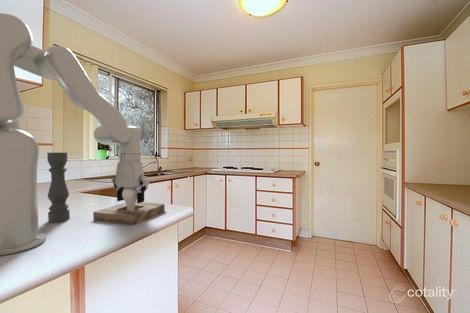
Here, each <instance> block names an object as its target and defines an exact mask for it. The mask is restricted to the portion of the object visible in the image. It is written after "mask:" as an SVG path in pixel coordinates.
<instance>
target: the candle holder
mask: <svg viewBox="0 0 470 313" xmlns="http://www.w3.org/2000/svg"><path fill="white" fill-rule="evenodd" d="M46 156H47V157H46V159H47V162H48V165H49V166H50V168H49V169H48V172H49V173H50V177H51V179H50V180H51V181H50V186H49V189H48V193H47V199H48V200H49V201H50V203H51V205H50V206H49V208H48V210H49V211H48V212H47V215H48V216H47V219H48V220H47V222H48V223H50V224H54V223H55V224H56V223H62V222H66V221H69V220H70V218H71V217H70V209H69V205H68V204H67V203H66V202H67V199H68V198H69V196H70V192H69V190H68V185H67V183H66V180H65V174H66V171H67V169H68V168H67V167H65V166H66V164H67V162H68V152H47V155H46Z"/></svg>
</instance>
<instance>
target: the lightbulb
mask: <svg viewBox="0 0 470 313" xmlns="http://www.w3.org/2000/svg"><path fill="white" fill-rule="evenodd" d="M137 193H138V191H137V189H136V188H126V187H124V189H123V192H122V197H123V199H124V200H123V201H124V203H126V207H127V211H134V209H135V203H136V202H137Z"/></svg>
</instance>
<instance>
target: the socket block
mask: <svg viewBox="0 0 470 313" xmlns="http://www.w3.org/2000/svg"><path fill="white" fill-rule="evenodd" d="M163 212H165V204H164V203H154V202H145V201H144V202H141V203H137V201H136V203H135V209H134V211H127V207H126V202H123V203H119V204H116V205H113V206H109V207H105V208H102V209H98V210H96V211H93V214H92V215H93V221H99V222H104V223H105V222H106V223H107V222H108V223H112V224H113V223H114V224H121V225H129V226H134V225H136V224H139V223H140V222H143V221H146V220H148V219H149V218H152V217H154V216H157V215H159V214H161V213H163Z"/></svg>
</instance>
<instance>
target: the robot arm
mask: <svg viewBox="0 0 470 313" xmlns="http://www.w3.org/2000/svg"><path fill="white" fill-rule="evenodd" d="M15 68H17V69H21V70H23V71H25V72H28V73H31V74H34V75H35V76H39V77H41V78H44V79H47V80H51V81H56V82H57V84H58V85H59V86H60V89H61V90H63V92H64V93H65V95H66V96H67V98H68V99H69V101H70V103H72V104H73V105H74V106H76V107H78V108H80V109H82V110H84V111H86V112H87V113H89V114H90V115H92V116H93V117H95V119H97V121H98V123H100V124H101V125H99V126H97V127H96V128H95V129H94V131H93V137H94V140H96V142H98V143H99V144H101V145H105V146H106V145H107V146H111V145H112V146H113V145H114V146H115V145H119V155H118V158H119V161H118V162H117V166H116V170H115V177H114V178H112V180H111V181H112V184H113V187H114V188H115V191H116V201H117V202H120V201H125V200H124V199H123V197H122V192H123V190H124V189H125V188H136V189H137V191H138V193H137V200H136V202H137V203H141V202H145V192H146V191H147V189H148V188H149V185H150V184H151V183H150V180H149V179H147V178H146V177H145V175H144V166H143V162H142V157H141V151H142V150H141V147H142V146H141V144H142V143H141V138H142V137H141V136H142V135H141V129H140V127H138V126H133V125H130V126H129V125H128V123H127V122H126V120H125V118H124V117H123V115H122V114H121V112H120V111H119V109H117V108H116V106H115V105H113V104H112V103H111V102H110V101H109V100H108V99H107V98H106V97H105V96H103V95H102V94H101V93H100V92H99V91H98V90H97V88H96V86H95V85H94V84H93V82H92V80H91V78H90V77H89V76H88V74H87V72H86V70H84V67H83V66H82V65H81V63H80V62H79V60H78V59H77V57H76V55H75V54H74V53H73V51H71V50H70V49H69V48H67V47H66V46H65V47H64V46H60V45H54V46H50V47H48V48H46V49H44V50H43V49H41V48H39V47H36V46H34V45H33V34H32V32H31V29H30V28H29V25H27V24H26V22H24V21H23V19H21V18H19V17H17V16H15V15H13V14H11V13H10V14H9V13H0V256H5V255H11V254H15V253H19V252H20V253H21V252H23V251H26V250H30V249H33V248H35V247H37V246H39V245H41V244H43V243H44V242H45V241H46V240H47V235H46V233H45V234H44V233H42V232H40V231H39V206H38V205H39V204H38V163H39V155H40V154H39V152H40V151H39V145H38V142H37V140H36V138H35V137H34V136H33V135H32V134H30V133H29V132H27V131H25V130H23V129H21V126H20V123H19V119H21V118H22V117H23V115H24V113H25V106H24V102H23V100H22V95H21V92H20V88H19V85H18V81H17V77H16V72H15Z"/></svg>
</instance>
